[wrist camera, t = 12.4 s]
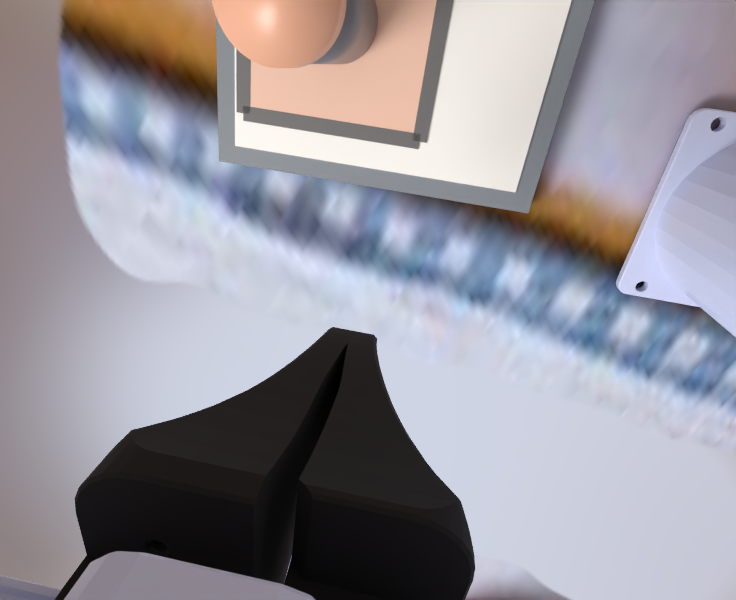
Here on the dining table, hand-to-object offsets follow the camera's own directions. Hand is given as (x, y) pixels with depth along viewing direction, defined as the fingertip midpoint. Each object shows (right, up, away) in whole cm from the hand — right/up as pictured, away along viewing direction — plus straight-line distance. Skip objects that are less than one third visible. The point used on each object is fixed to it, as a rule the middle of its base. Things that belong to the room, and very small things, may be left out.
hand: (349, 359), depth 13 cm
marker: (-1, +12, +4) cm, 13 cm away
